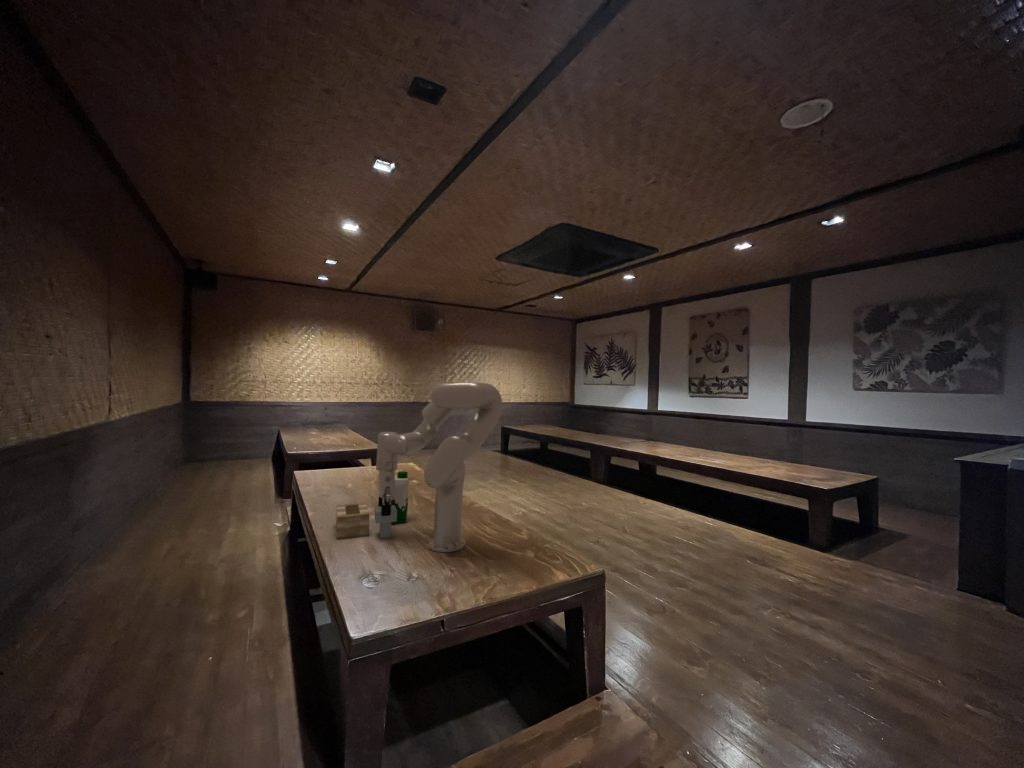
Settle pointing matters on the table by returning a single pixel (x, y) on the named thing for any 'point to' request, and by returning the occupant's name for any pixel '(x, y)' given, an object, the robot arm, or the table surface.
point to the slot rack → (352, 521)
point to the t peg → (385, 521)
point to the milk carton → (401, 497)
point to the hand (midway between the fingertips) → (384, 511)
